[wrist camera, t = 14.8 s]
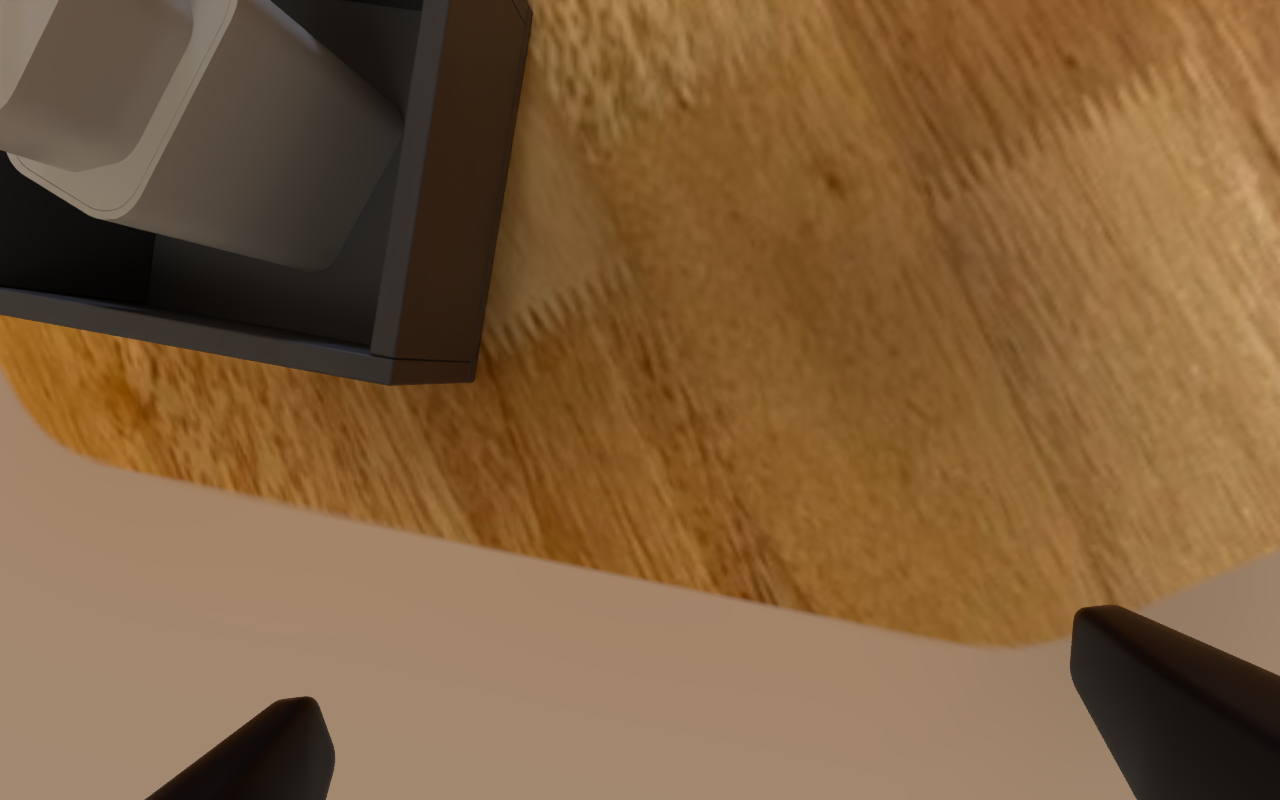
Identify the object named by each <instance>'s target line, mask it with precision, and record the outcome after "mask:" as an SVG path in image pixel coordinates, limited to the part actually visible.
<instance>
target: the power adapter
mask: <svg viewBox="0 0 1280 800" xmlns="http://www.w3.org/2000/svg"><path fill="white" fill-rule="evenodd" d="M403 130H404V121H403V118H402V115H401V113H400V111H399V110H398V109H397V107H396V106H395V105H394V104H392V103H391V102H390V101H389V100H388V99H386V98H385V97H384V96H383V95H382V94H381V93H379V92H378V91H377V90H376V89H375V88H373V87H372V86H371V85H370V84H369V83H367V82H366V81H365V80H364V79H363V78H362V77H360V76H359V75H358V74H357V73H356V72H354V71H353V70H352V69H351V68H350V67H349V66H347V65H346V64H345V63H344V62H343V61H341V60H340V59H339V58H338V57H337V56H336V55H334V54H333V53H332V52H331V51H330V50H328V49H327V48H326V47H325V46H324V45H322V44H321V43H320V42H319V41H318V40H317V39H315V38H314V37H313V36H312V35H311V34H309V33H308V32H307V31H306V30H305V29H304V28H302V27H301V26H300V25H299V24H298V23H296V22H295V21H294V20H293V19H292V18H290V17H289V16H288V15H287V14H286V13H285V12H283V11H282V10H281V9H280V8H279V7H277V6H276V5H275V4H274V3H273V2H272V1H270V0H0V150H2V151H5V152H7V155H8V157H9V159H10V161H11V163H12V164H13V165H14V167H15V168H16V169H17V170H18V171H19V172H20V173H22V174H23V175H25V176H26V177H28V178H29V179H31V180H33V181H34V182H36V183H38V184H39V185H41V186H42V187H44V188H46V189H47V190H49V191H50V192H52V193H54V194H55V195H57V196H58V197H60V198H62V199H63V200H65V201H67V202H68V203H70V204H71V205H73V206H75V207H76V208H78V209H79V210H81V211H83V212H84V213H86V214H87V215H89V216H92V217H94V218H97V219H101V220H105V221H109V222H113V223H117V224H121V225H125V226H129V227H133V228H137V229H141V230H145V231H149V232H153V233H157V234H161V235H165V236H169V237H173V238H177V239H181V240H185V241H189V242H192V243H196V244H200V245H204V246H208V247H212V248H216V249H220V250H224V251H228V252H232V253H236V254H240V255H244V256H248V257H252V258H256V259H260V260H264V261H268V262H272V263H276V264H280V265H284V266H288V267H292V268H296V269H300V270H304V271H309V272H320V271H323V270H325V269H327V268H328V267H329V266H330V265H331V264H332V263H333V262H334V261H335V259H336V258H337V256H338V254H339V253H340V251H341V249H342V247H343V245H344V243H345V242H346V240H347V238H348V236H349V234H350V232H351V230H352V229H353V227H354V225H355V223H356V221H357V219H358V218H359V216H360V214H361V212H362V210H363V208H364V207H365V205H366V203H367V201H368V199H369V197H370V196H371V194H372V192H373V190H374V188H375V186H376V185H377V183H378V181H379V179H380V177H381V175H382V174H383V172H384V170H385V168H386V166H387V164H388V163H389V161H390V159H391V157H392V155H393V153H394V151H395V150H396V148H397V146H398V144H399V142H400V140H401V137H402V135H403Z"/></svg>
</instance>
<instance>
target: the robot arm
mask: <svg viewBox="0 0 1280 800" xmlns="http://www.w3.org/2000/svg"><path fill="white" fill-rule="evenodd" d="M1070 658H1071V659H1070V670H1071V676H1072V680H1073V683H1074V685H1075V688H1076V689H1077V691H1078V693H1079V695H1080V697H1081V699H1082V701H1083V702H1084V704H1085V706H1086V708H1087V710H1088V712H1089V713H1090V715H1091V717H1092V719H1093V721H1094V722H1095V724H1096V726H1097V728H1098V730H1099V732H1100V733H1101V735H1102V737H1103V739H1104V741H1105V742H1106V744H1107V746H1108V748H1109V750H1110V752H1111V753H1112V755H1113V757H1114V759H1115V761H1116V762H1117V764H1118V766H1119V768H1120V770H1121V772H1122V774H1123V775H1124V777H1125V779H1126V781H1127V782H1128V784H1129V786H1130V788H1131V790H1132V792H1133V794H1134V795H1135V797H1136V799H1137V800H1280V676H1279V675H1276V674H1274V673H1272V672H1269V671H1267V670H1265V669H1263V668H1260V667H1258V666H1256V665H1253V664H1251V663H1249V662H1246V661H1244V660H1242V659H1240V658H1237V657H1235V656H1233V655H1230V654H1228V653H1226V652H1224V651H1221V650H1219V649H1217V648H1215V647H1212V646H1210V645H1208V644H1205V643H1203V642H1201V641H1199V640H1196V639H1194V638H1192V637H1189V636H1187V635H1185V634H1183V633H1180V632H1178V631H1176V630H1174V629H1171V628H1169V627H1167V626H1164V625H1162V624H1160V623H1158V622H1155V621H1153V620H1151V619H1148V618H1146V617H1144V616H1142V615H1139V614H1137V613H1135V612H1132V611H1130V610H1128V609H1126V608H1123V607H1121V606H1118V605H1102V606H1093V607H1084V608H1081V609H1080V610H1078V611H1077V612H1076V614H1075V616H1074V621H1073V632H1072V646H1071V657H1070ZM334 766H335V751H334V746H333V743H332V740H331V737H330V735H329V732H328V729H327V726H326V724H325V721H324V718H323V715H322V712H321V710H320V707H319V705H318V703H317V701H316V700H315V699H314V698H312V697H307V696H305V697H296V698H288V699H282V700H278V701H276V702H274V703H273V704H271V705H270V706H269V707H267V708H266V709H265V710H263V711H262V712H261V713H259V714H258V715H257V716H255V717H254V718H253V719H251V720H250V721H249V722H247V723H246V724H245V725H243V726H242V727H241V728H239V729H238V730H237V731H236V732H234V733H233V734H232V735H230V736H229V737H227V738H226V739H225V740H224V741H222V742H221V743H219V744H218V745H217V746H216V747H214V748H213V749H212V750H210V751H209V752H208V753H206V754H205V755H204V756H203V757H201V758H200V759H198V760H197V761H196V762H195V763H193V764H192V765H190V766H189V767H188V768H186V769H185V770H184V771H182V772H181V773H180V774H178V775H177V776H176V777H175V778H173V779H172V780H170V781H169V782H168V783H166V784H165V785H164V786H163V787H161V788H160V789H158V790H157V791H156V792H154V793H153V794H152V795H151V796H149V797H148V798H146V799H145V800H326V797H327V793H328V790H329V786H330V782H331V779H332V775H333V771H334Z"/></svg>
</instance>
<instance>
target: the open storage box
mask: <svg viewBox="0 0 1280 800" xmlns="http://www.w3.org/2000/svg"><path fill="white" fill-rule="evenodd" d="M270 1H272V2H273V3H274V4H275V5H276V6H277V7H279V8H280V9H281V10H282V11H283V12H285V13H286V14H287V15H288V16H289V17H290V18H292V19H293V20H294V21H295V22H296V23H298V24H299V25H300V26H301V27H302V28H304V29H305V30H306V31H307V32H308V33H309V34H311V35H312V36H313V37H314V38H315V39H317V40H318V41H319V42H320V43H321V44H322V45H324V46H325V47H326V48H327V49H328V50H330V51H331V52H332V53H333V54H334V55H336V56H337V57H338V58H339V59H340V60H341V61H343V62H344V63H345V64H346V65H347V66H349V67H350V68H351V69H352V70H353V71H354V72H356V73H357V74H358V75H359V76H360V77H362V78H363V79H364V80H365V81H366V82H367V83H369V84H370V85H371V86H372V87H373V88H375V89H376V90H377V91H378V92H379V93H381V94H382V95H383V96H384V97H385V98H386V99H388V100H389V101H390V102H391V103H392V104H394V105H395V106H396V107H397V109H398V110H399V111H400V113H401V115H402V118H403V121H404V130H403V135H402V137H401V140H400V142H399V144H398V146H397V148H396V150H395V151H394V153H393V155H392V157H391V159H390V161H389V163H388V164H387V166H386V168H385V170H384V172H383V174H382V175H381V177H380V179H379V181H378V183H377V185H376V186H375V188H374V190H373V192H372V194H371V196H370V197H369V199H368V201H367V203H366V205H365V207H364V208H363V210H362V212H361V214H360V216H359V218H358V219H357V221H356V223H355V225H354V227H353V229H352V230H351V232H350V234H349V236H348V238H347V240H346V242H345V243H344V245H343V247H342V249H341V251H340V253H339V254H338V256H337V258H336V259H335V261H334V262H333V263H332V264H331V265H330V266H329V267H328V268H327V269H325V270H323V271H320V272H309V271H304V270H300V269H296V268H292V267H288V266H284V265H280V264H276V263H272V262H268V261H264V260H260V259H256V258H252V257H248V256H244V255H240V254H236V253H232V252H228V251H224V250H220V249H216V248H212V247H208V246H204V245H200V244H196V243H192V242H189V241H185V240H181V239H177V238H173V237H169V236H165V235H161V234H157V233H153V232H149V231H145V230H141V229H137V228H133V227H129V226H125V225H121V224H117V223H113V222H109V221H105V220H101V219H97V218H94V217H92V216H89V215H87V214H86V213H84V212H83V211H81V210H79V209H78V208H76V207H75V206H73V205H71V204H70V203H68V202H67V201H65V200H63V199H62V198H60V197H58V196H57V195H55V194H54V193H52V192H50V191H49V190H47V189H46V188H44V187H42V186H41V185H39V184H38V183H36V182H34V181H33V180H31V179H29V178H28V177H26V176H25V175H23V174H22V173H20V172H19V171H18V170H17V169H16V168H15V167H14V165H13V164H12V163H11V161H10V159H9V157H8V155H7V152H5V151H2V150H0V315H5V316H10V317H16V318H21V319H27V320H32V321H38V322H43V323H49V324H54V325H60V326H65V327H71V328H76V329H81V330H87V331H92V332H98V333H103V334H109V335H114V336H120V337H125V338H131V339H136V340H141V341H147V342H152V343H158V344H163V345H169V346H174V347H180V348H185V349H191V350H196V351H201V352H207V353H212V354H218V355H223V356H229V357H234V358H240V359H245V360H251V361H256V362H261V363H267V364H272V365H278V366H283V367H289V368H294V369H300V370H305V371H311V372H316V373H322V374H327V375H332V376H338V377H343V378H349V379H354V380H360V381H365V382H371V383H376V384H382V385H387V386H394V385H420V384H446V383H472V382H473V381H474V375H475V369H476V363H477V357H478V351H479V344H480V338H481V332H482V326H483V320H484V313H485V307H486V301H487V295H488V288H489V282H490V276H491V270H492V264H493V257H494V251H495V245H496V239H497V233H498V226H499V220H500V214H501V208H502V202H503V195H504V189H505V183H506V177H507V170H508V164H509V158H510V152H511V146H512V139H513V133H514V127H515V121H516V115H517V108H518V102H519V96H520V90H521V84H522V77H523V71H524V65H525V59H526V52H527V46H528V40H529V34H530V28H531V21H532V15H533V12H532V10H531V8H530V6H529V5H528V2H527V0H270Z"/></svg>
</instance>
